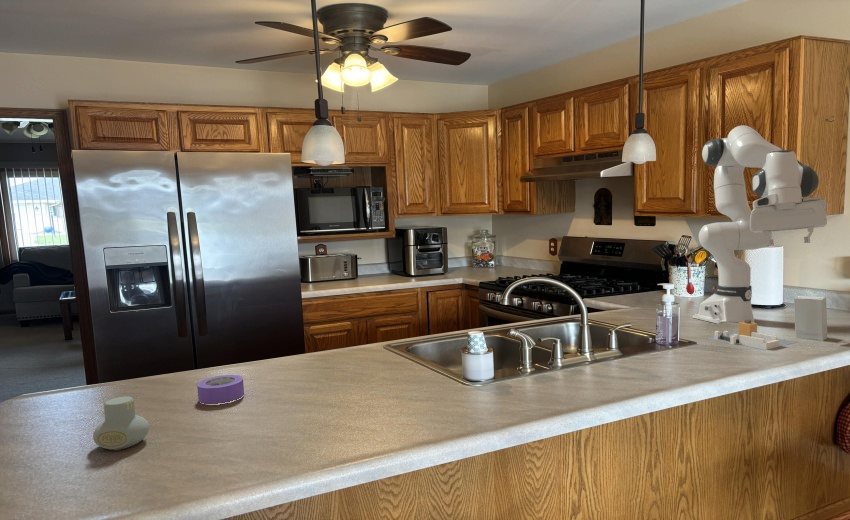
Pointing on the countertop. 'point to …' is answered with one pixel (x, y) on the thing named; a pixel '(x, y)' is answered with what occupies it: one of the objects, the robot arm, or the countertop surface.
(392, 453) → the countertop surface
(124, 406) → the air freshener
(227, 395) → the tape roll
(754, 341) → the board
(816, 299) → the skincare box
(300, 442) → the countertop surface
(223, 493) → the countertop surface
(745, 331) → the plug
